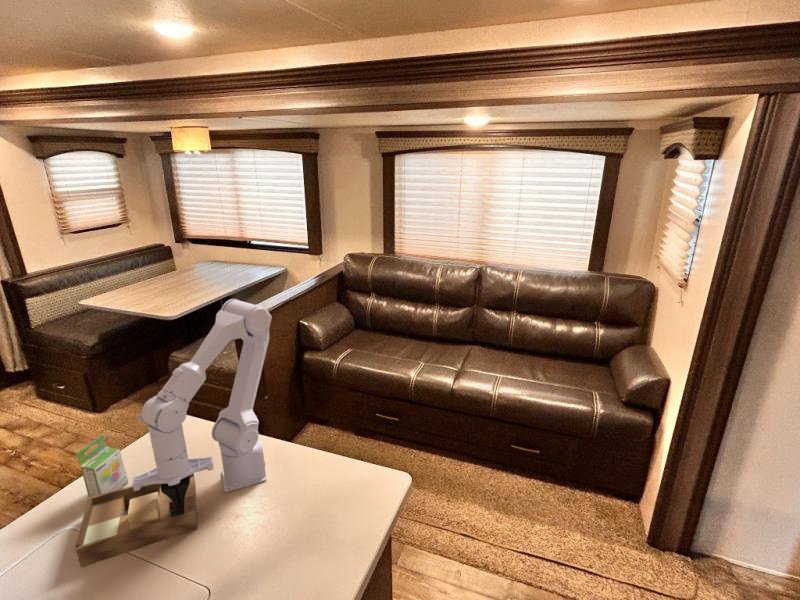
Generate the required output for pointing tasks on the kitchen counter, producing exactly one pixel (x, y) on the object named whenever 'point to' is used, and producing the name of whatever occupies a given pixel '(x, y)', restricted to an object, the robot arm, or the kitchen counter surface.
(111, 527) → the box
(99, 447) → the ink box
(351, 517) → the kitchen counter surface
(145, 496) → the maple block
